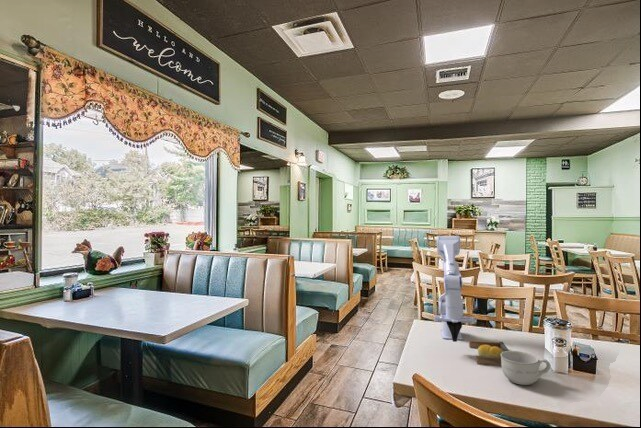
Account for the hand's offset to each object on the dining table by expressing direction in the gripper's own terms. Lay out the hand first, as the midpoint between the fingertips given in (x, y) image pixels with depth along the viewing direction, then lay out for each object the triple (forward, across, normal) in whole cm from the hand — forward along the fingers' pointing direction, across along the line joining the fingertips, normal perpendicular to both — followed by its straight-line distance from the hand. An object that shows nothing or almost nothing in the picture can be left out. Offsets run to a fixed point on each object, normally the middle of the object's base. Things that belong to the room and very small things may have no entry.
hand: (454, 340), depth 131 cm
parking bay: (+5, +12, 0) cm, 13 cm away
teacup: (+5, +19, -18) cm, 27 cm away
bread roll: (+5, +13, 0) cm, 14 cm away
